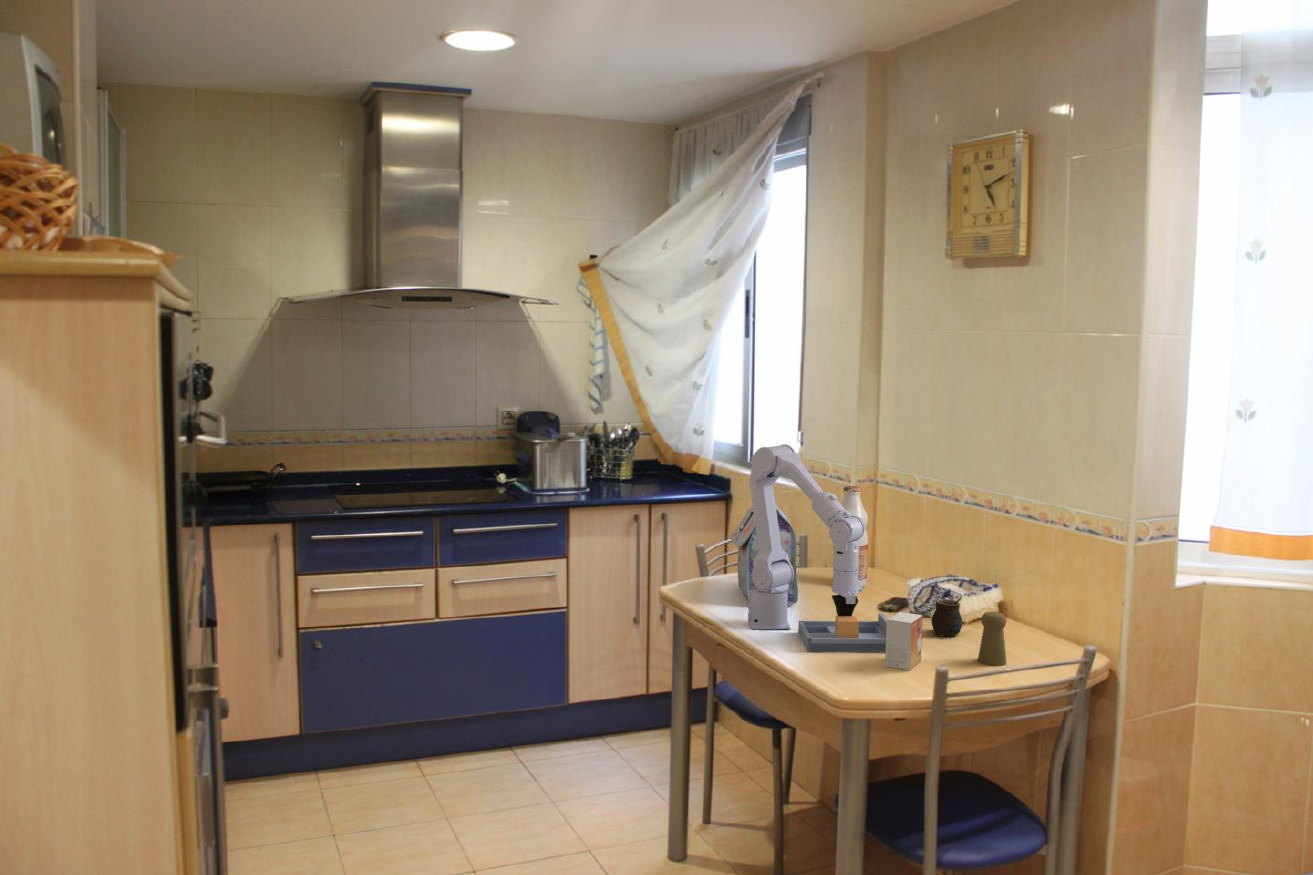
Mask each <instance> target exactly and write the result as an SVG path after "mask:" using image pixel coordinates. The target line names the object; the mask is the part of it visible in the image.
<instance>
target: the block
mask: <svg viewBox="0 0 1313 875" xmlns="http://www.w3.org/2000/svg"><path fill="white" fill-rule="evenodd" d="M834 621H835V636H836V637H837V638H859V621H860V620H858V618H857V616H855V615H852V616H837V615H835V620H834Z"/></svg>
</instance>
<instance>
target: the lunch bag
mask: <svg viewBox="0 0 1313 875" xmlns="http://www.w3.org/2000/svg"><path fill="white" fill-rule="evenodd" d="M776 512H777V519H778V526H779V534H780V541H781V548H782V549H783V550H784V551H785V552H786V553H787V554H788V556H789V561H790V564H791V565H792V567H793V570H794V578H793V580H792V582H791V583H790V584H789V588H788V598H787V606H792V605H795V604H798V601H799V587H798V574H797V554H798V548H797V547H798V546H797V542H798V541H797V535H796V531H795V529H794V527H793V526H792V523H791V522H790V520H789V518H788V516H786V514H785V513H784V512H783V511H782V510H781V508H780V507H779V506H778V505H777V504H776ZM730 541H731V542H732V543H733V544H734V545H735V546H736V547H737V548H738V549H737V553H738V554H737V579H738V588H739V589H741V591H742V593H743V594H744V597H745V598H746V601H747V603H748V604H749V591H750V590H755V589H757V588H756V586H755V585H754V583H753V580H752V573H753V569H754V564H753V561H754V559H755V557H756V556H757V554H758V553H759V547H758V539H757V532H756V525H755V518H754V510H753V504H752V506H751V507H750V508H749V509H747V511H746V513H745V514H744V516H743V518H742V519H741V521H739V524H738V525H737V527H736V528H735V529H734V530H733V532H732V533H731V535H730Z"/></svg>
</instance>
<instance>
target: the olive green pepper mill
mask: <svg viewBox="0 0 1313 875" xmlns="http://www.w3.org/2000/svg"><path fill="white" fill-rule="evenodd" d="M980 621H981V625H982V626H983V630H982V635H981V639H980V640H981V641H980V646H979V647H980V648H979V652H978V658H977V662H978V663H979V664H981V665H985V666H989V667H1000V666H1006V665H1007V656H1006V654H1007V653H1006V644H1005V634H1004V633H1005V632H1004V628H1005V627H1006V625H1007V617H1006V615H1005V614H1003V613H1002V612H998V611H986V612H984V613H983V614H982V616H981V620H980Z"/></svg>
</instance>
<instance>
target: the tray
mask: <svg viewBox="0 0 1313 875" xmlns="http://www.w3.org/2000/svg"><path fill="white" fill-rule="evenodd" d="M877 619H878V620H861V621H860V620H858V621H859V638H837V637H836V636H835V620H798V631H797V632H798V635H799V637H800V639H801V641H802V643H803V645H804V647H805V649H806V651H807V652H808V653H886V624H887V619H888V617H886V615H885V614H884V613H883V612H878V617H877Z"/></svg>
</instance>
